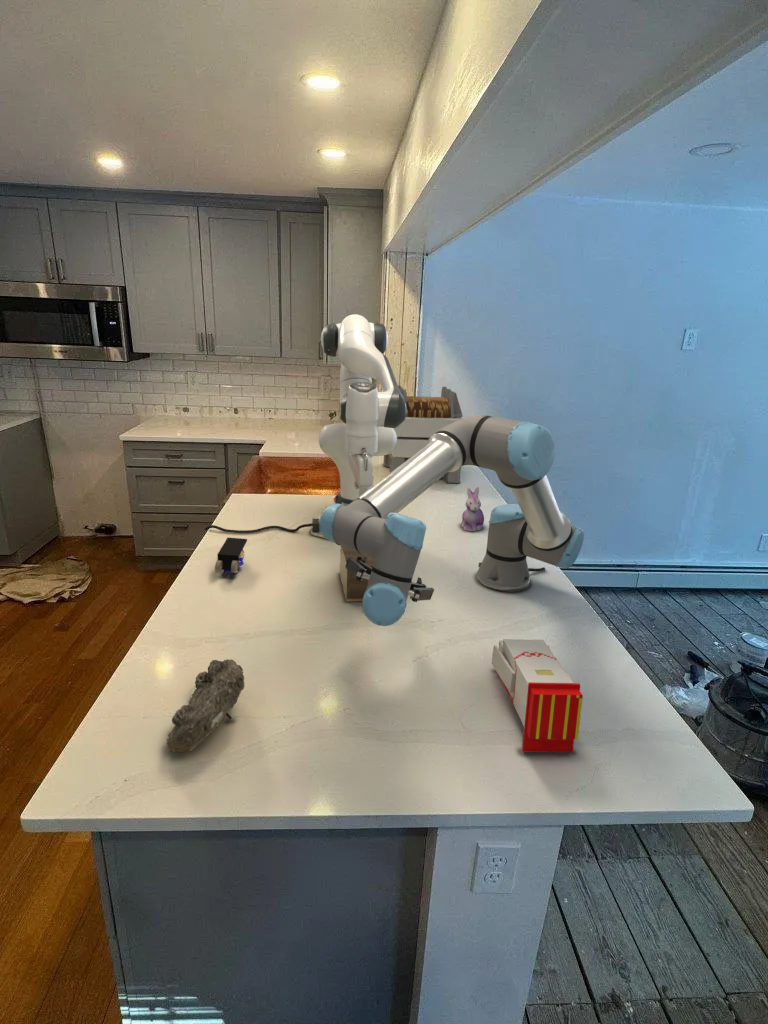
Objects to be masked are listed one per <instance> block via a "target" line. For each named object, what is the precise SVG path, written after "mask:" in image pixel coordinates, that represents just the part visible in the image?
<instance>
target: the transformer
mask: <svg viewBox="0 0 768 1024" xmlns="http://www.w3.org/2000/svg"><path fill="white" fill-rule="evenodd" d="M397 385H398V388H399V390H400V392H401V394H402V396H403V397H404V400H405V403H406V417H405V420H404V421H403V422H402V423H401V424H400V425H399V426H398V427H396V428H393V429H394V430H395V432H396V436H397V444H396V447H395V449H394V450H393V452H392V453H391V454H387V455H383V466H384V467H388V468H389V474H390V473H391V472H392V471H394V470H395V469H396V468H398V467H399V466H400V465H401V464H403V463H404V462H405V461H407V460H408V459H409V458H411V457H412V456H413V455H415V454H416V453H417V452H419V451H420V450H421V449H422V448H424V447H425V446H426V445H427V442H428V440H429V438H430V437H431V436H432V435H433V434H435V433H436V432H438V431H439V430H441V429H442V428H444V427H445V426H447V425H449V424H451V423H453V422H455V421H458V420H460V419H463V411H462V408H461V405H460V402H459V398H458V395H457V392H455V391H453V390H452V389H451V388H447V386H442V387H441V392H440V393H441V394H440V396H415V395H414V396H413V395H412V396H411V395H407V394H408V393H407V390H406V389H404V388H403V387H402V385H399V384H397ZM461 472H462V466H461V467H460V468H459V469H458V470H456V471H453V472H447V473H446V474H445V475H444V476H443V478H444V479H445V481H446V482H447V483H449V484H455V483H456V484H459V483H461Z"/></svg>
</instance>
